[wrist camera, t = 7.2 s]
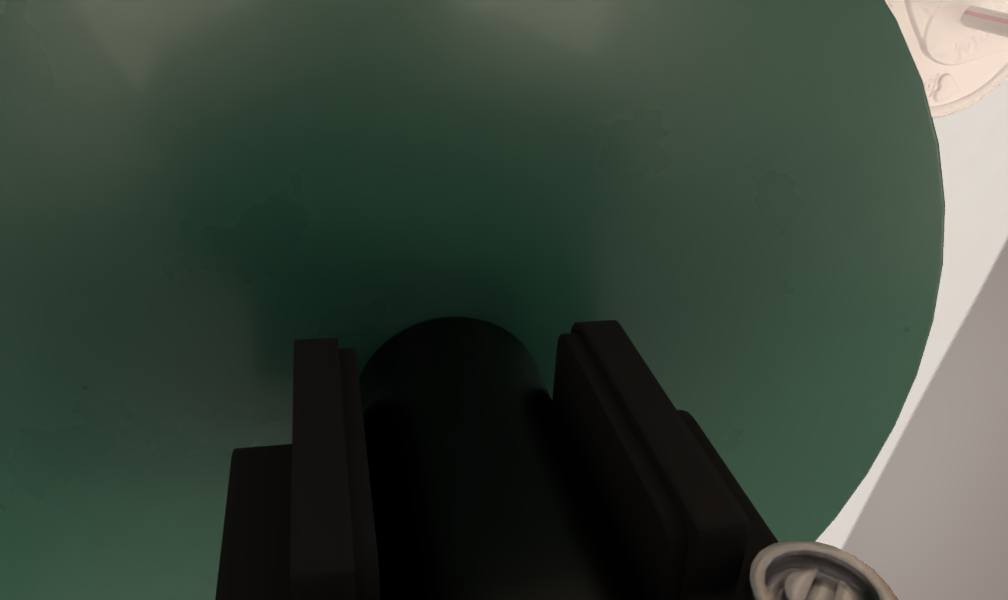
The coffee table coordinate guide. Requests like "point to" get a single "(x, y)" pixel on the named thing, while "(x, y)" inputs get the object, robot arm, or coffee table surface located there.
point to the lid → (444, 266)
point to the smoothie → (955, 48)
